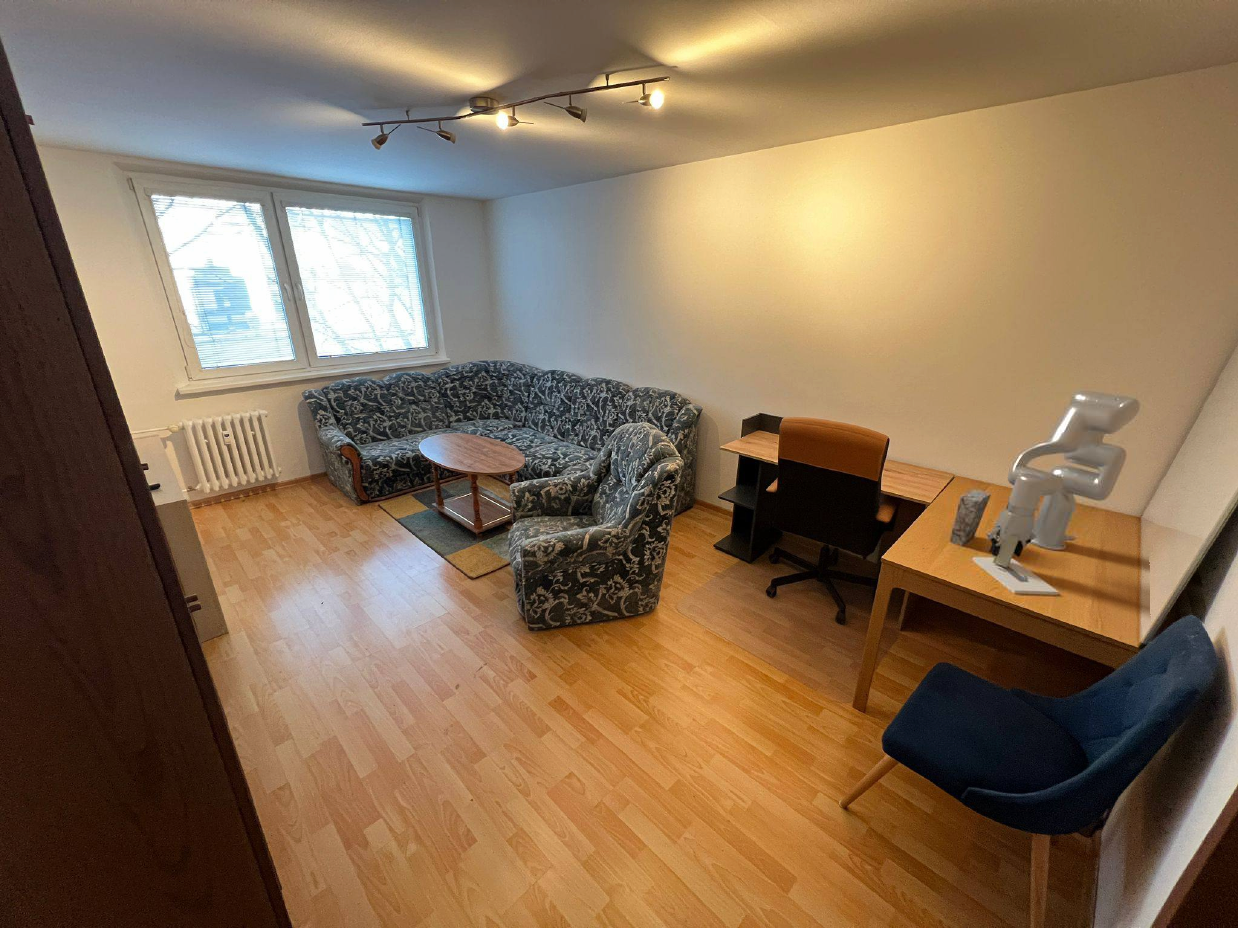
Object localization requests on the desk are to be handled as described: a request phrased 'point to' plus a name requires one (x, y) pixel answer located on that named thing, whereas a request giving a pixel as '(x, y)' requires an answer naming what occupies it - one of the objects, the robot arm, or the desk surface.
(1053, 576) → the desk surface
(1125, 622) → the desk surface
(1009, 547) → the skincare box
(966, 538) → the stone block
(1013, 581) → the board
